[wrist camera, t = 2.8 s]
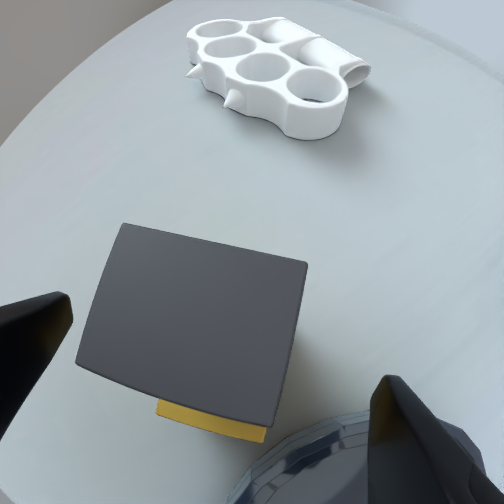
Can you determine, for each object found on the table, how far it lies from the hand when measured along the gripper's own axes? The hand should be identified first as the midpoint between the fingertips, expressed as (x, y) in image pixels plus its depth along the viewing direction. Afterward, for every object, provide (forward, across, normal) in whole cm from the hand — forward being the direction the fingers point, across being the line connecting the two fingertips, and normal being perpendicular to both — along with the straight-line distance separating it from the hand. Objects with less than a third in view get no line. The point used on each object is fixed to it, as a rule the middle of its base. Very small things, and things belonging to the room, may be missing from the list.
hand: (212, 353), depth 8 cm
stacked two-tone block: (+7, 0, +6) cm, 9 cm away
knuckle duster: (+24, +3, -10) cm, 26 cm away
